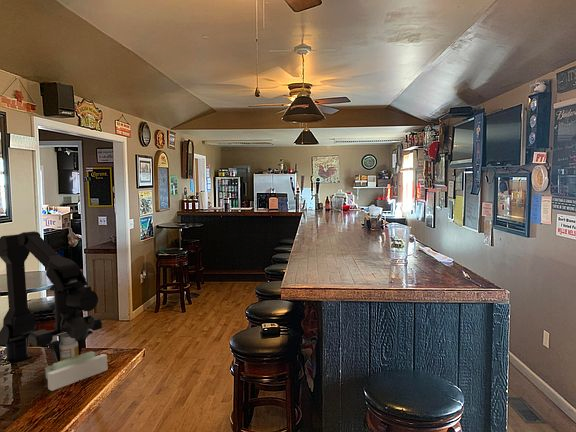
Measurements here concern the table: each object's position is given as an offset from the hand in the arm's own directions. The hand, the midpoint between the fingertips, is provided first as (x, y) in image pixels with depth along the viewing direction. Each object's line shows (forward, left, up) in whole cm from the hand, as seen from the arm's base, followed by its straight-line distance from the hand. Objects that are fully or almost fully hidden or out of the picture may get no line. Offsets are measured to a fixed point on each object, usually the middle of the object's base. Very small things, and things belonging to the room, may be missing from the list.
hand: (68, 359), depth 124 cm
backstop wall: (+6, 0, -4) cm, 7 cm away
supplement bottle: (0, 0, -3) cm, 3 cm away
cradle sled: (+1, 0, -4) cm, 4 cm away
